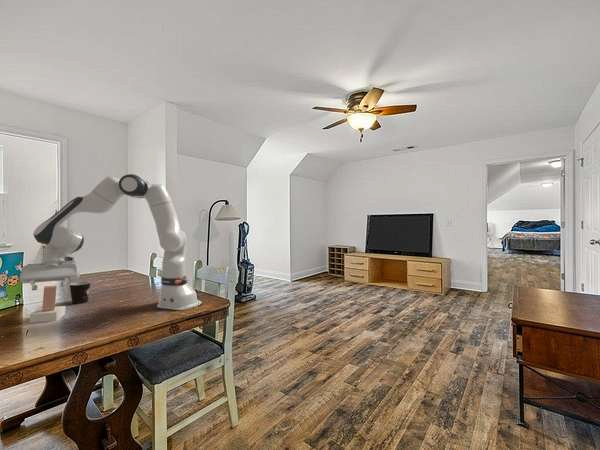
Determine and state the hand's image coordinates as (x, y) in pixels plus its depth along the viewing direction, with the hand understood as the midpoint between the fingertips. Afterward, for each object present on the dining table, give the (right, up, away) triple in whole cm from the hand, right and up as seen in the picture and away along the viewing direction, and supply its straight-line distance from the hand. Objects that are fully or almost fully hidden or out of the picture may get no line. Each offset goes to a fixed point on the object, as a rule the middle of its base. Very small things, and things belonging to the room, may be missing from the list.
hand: (48, 288), depth 122 cm
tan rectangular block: (0, -9, 0) cm, 9 cm away
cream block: (0, -13, 0) cm, 14 cm away
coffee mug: (-4, -13, +24) cm, 27 cm away
